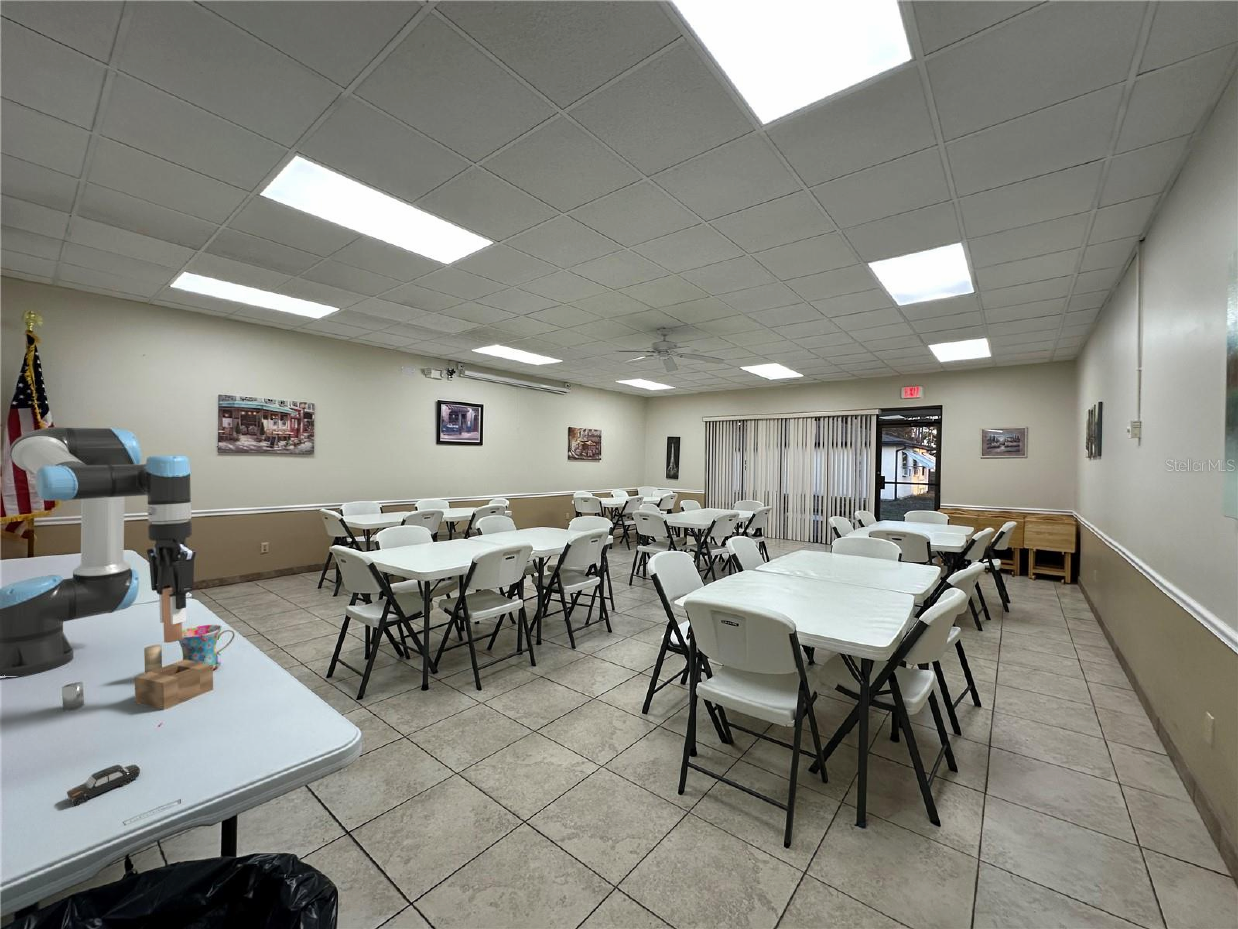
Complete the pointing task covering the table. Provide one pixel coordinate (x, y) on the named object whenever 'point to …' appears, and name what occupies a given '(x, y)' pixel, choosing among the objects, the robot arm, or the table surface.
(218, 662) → the mug
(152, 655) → the medium pin
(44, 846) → the table surface
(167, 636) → the long pin
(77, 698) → the short pin
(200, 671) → the block
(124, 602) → the robot arm
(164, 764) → the table surface
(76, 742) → the table surface
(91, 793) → the toy car
